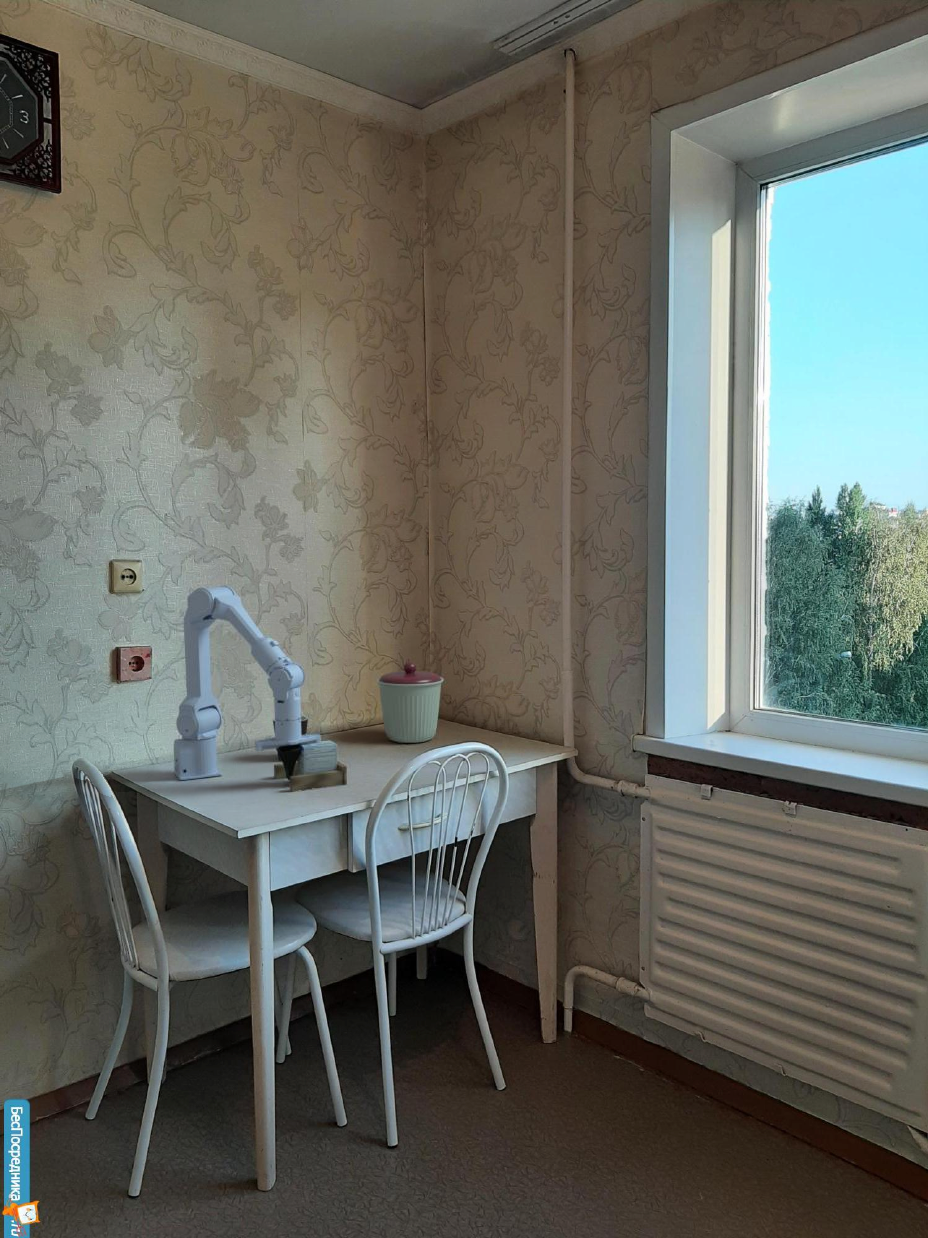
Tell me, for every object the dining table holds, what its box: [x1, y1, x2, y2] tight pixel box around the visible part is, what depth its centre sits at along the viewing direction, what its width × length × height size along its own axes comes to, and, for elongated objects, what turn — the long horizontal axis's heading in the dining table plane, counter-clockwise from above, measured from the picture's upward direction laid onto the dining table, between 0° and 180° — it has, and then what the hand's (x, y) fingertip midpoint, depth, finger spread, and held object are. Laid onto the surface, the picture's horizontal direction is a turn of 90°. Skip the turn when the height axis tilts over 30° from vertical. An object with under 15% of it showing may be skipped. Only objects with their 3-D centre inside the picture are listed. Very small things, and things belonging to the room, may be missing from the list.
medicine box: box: [297, 740, 338, 775], centre depth 206 cm, size 8×4×9 cm, turn 119°
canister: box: [376, 661, 445, 744], centre depth 249 cm, size 18×18×21 cm
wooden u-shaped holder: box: [273, 760, 348, 793], centre depth 207 cm, size 12×14×4 cm
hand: (289, 779), depth 205 cm, fingers closed
